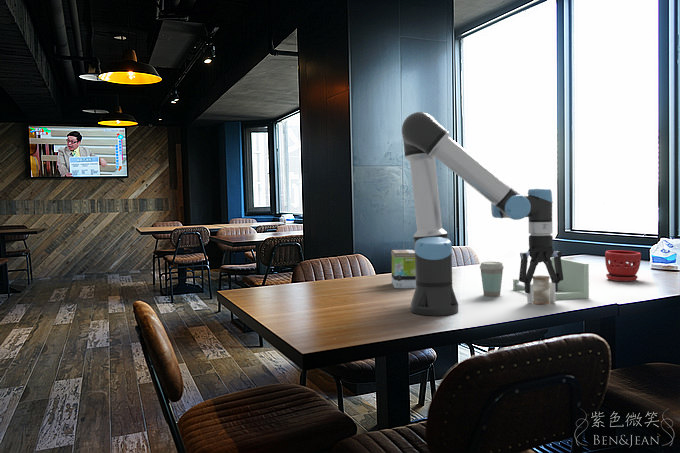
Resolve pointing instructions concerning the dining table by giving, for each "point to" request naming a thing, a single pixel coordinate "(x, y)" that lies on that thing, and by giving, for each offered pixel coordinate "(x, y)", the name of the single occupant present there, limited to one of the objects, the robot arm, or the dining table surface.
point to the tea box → (403, 268)
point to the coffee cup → (491, 278)
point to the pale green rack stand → (568, 280)
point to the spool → (541, 290)
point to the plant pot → (622, 265)
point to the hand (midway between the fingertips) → (541, 302)
